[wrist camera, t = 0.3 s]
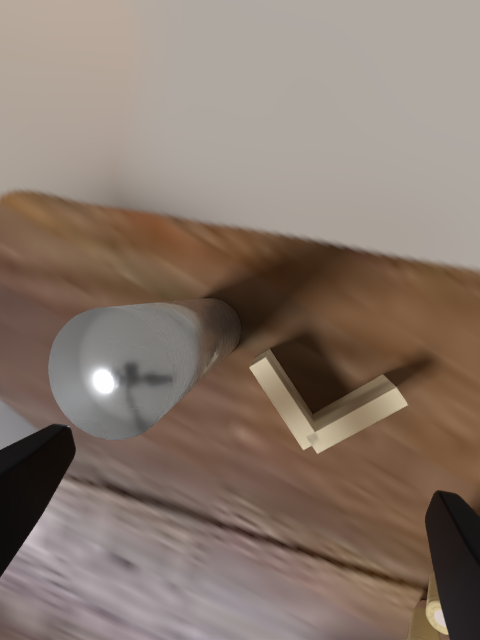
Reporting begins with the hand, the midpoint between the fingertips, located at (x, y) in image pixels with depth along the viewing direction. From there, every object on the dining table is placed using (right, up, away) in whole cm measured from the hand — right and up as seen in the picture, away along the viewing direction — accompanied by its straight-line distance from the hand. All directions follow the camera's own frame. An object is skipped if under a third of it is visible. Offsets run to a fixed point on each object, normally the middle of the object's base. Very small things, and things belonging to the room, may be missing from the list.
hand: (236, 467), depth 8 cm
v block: (+5, -2, +15) cm, 16 cm away
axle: (-2, +3, +15) cm, 16 cm away
